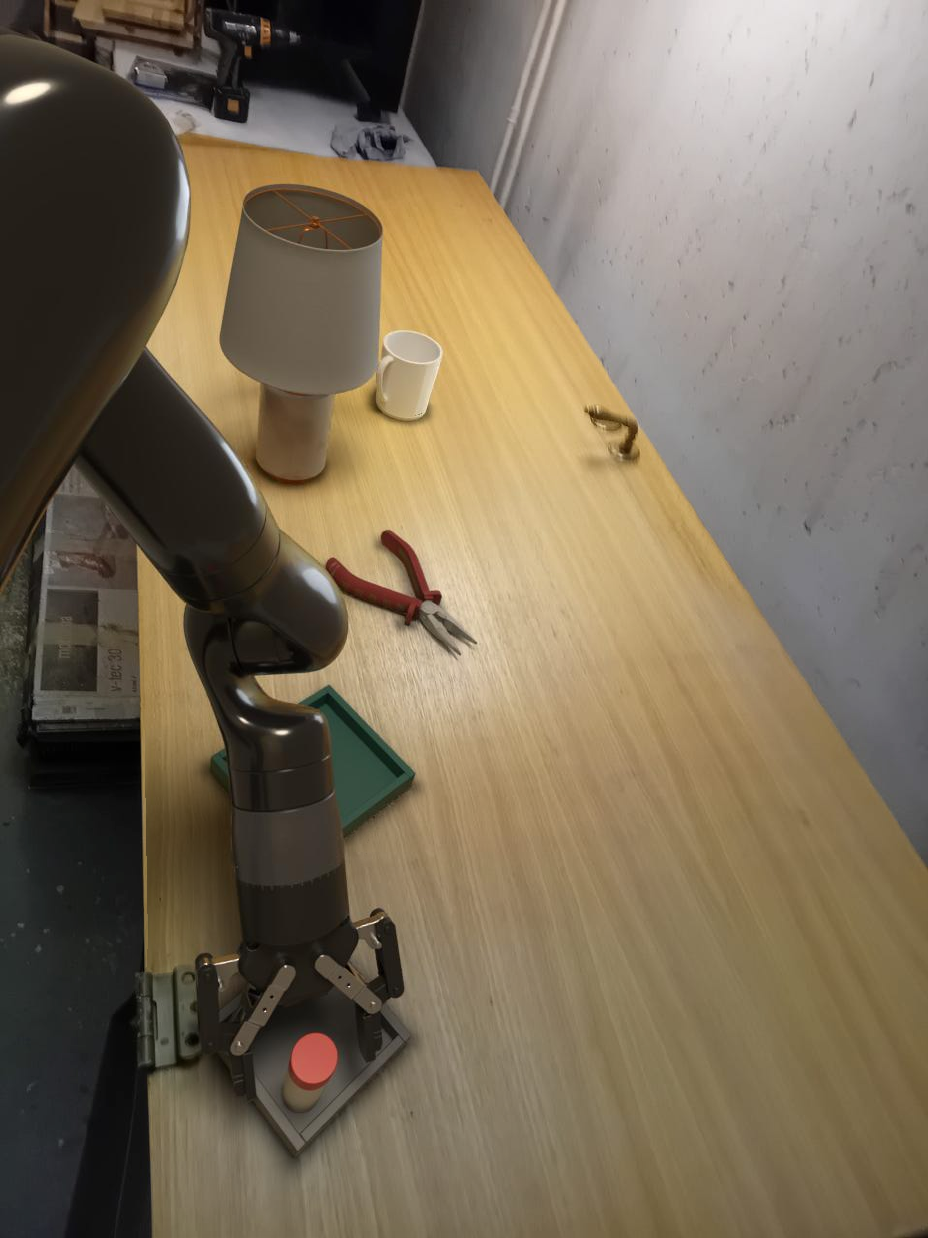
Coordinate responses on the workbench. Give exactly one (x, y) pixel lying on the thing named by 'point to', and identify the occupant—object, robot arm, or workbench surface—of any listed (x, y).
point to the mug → (406, 374)
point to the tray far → (350, 762)
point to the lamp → (302, 316)
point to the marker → (308, 1071)
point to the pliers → (413, 607)
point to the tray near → (348, 1078)
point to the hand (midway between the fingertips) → (310, 1074)
